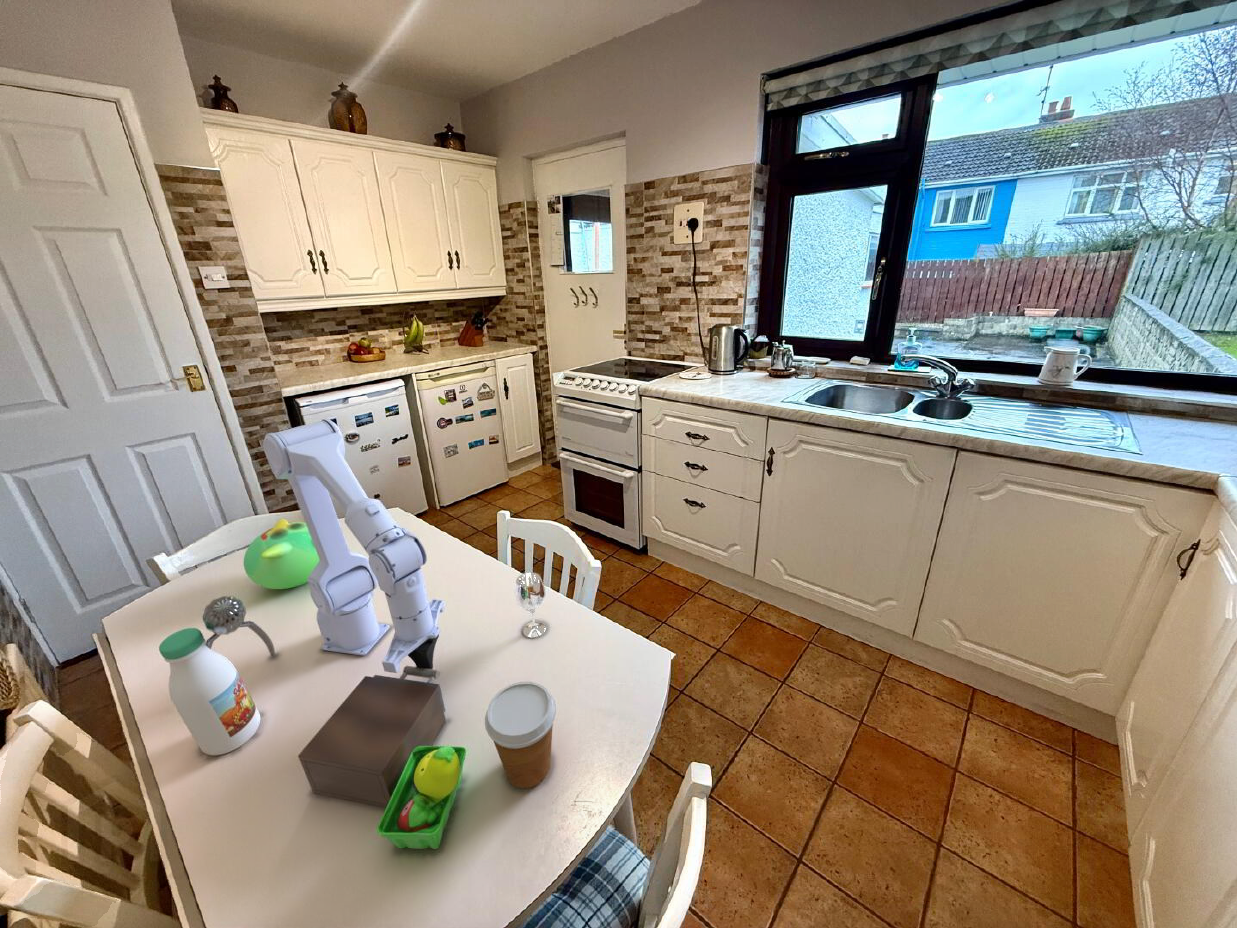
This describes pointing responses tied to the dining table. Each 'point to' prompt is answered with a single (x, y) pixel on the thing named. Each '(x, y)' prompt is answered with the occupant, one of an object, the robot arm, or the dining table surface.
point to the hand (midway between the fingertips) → (425, 670)
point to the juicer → (230, 620)
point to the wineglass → (530, 600)
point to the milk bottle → (208, 693)
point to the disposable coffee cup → (522, 731)
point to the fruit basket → (423, 797)
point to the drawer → (418, 672)
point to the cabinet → (372, 740)
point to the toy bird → (281, 556)
